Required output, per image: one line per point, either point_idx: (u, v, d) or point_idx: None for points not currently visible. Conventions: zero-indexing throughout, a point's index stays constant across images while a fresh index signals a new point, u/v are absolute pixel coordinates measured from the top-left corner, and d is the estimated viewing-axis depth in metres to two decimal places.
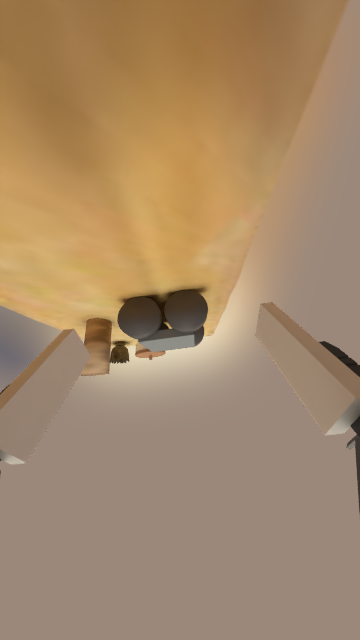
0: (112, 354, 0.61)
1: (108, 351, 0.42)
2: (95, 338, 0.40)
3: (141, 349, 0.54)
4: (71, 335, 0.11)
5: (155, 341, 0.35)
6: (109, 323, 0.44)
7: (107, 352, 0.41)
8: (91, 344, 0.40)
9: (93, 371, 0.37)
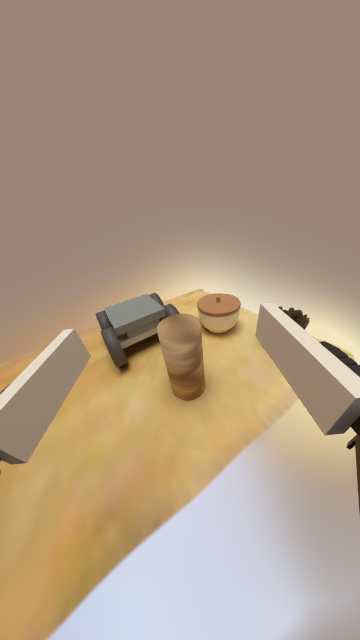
0: None
1: None
2: None
3: (208, 316, 0.38)
4: (71, 335, 0.11)
5: (116, 319, 0.36)
6: None
7: None
8: (166, 366, 0.26)
9: (157, 330, 0.23)
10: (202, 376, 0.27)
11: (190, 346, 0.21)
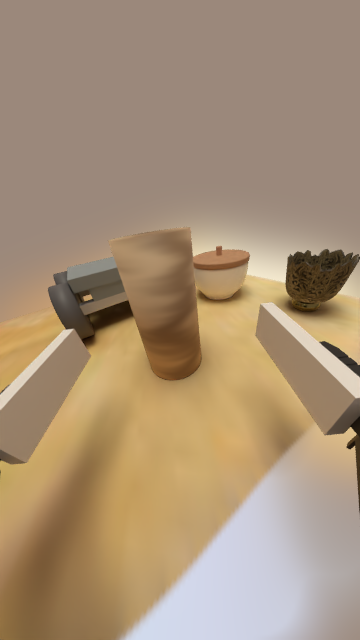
0: (316, 284, 0.20)
1: None
2: None
3: (205, 271, 0.27)
4: (71, 335, 0.11)
5: (76, 273, 0.25)
6: None
7: None
8: (135, 320, 0.15)
9: None
10: (196, 339, 0.16)
11: (170, 261, 0.11)
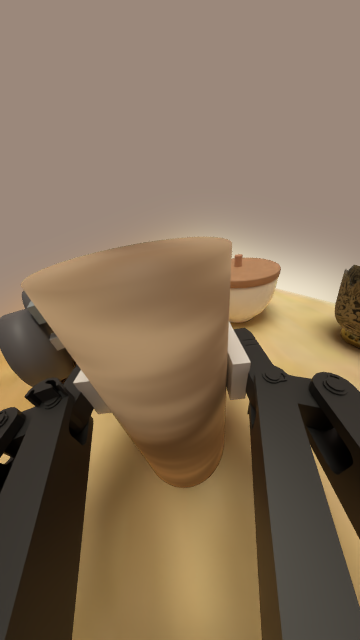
0: None
1: None
2: None
3: None
4: None
5: None
6: None
7: None
8: None
9: None
10: (222, 428, 0.09)
11: (187, 339, 0.04)
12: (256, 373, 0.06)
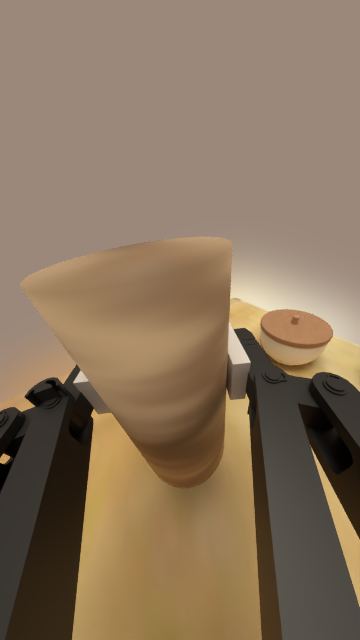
0: None
1: None
2: None
3: (287, 346, 0.26)
4: None
5: None
6: None
7: None
8: None
9: None
10: (223, 428, 0.09)
11: (187, 339, 0.04)
12: (256, 373, 0.06)
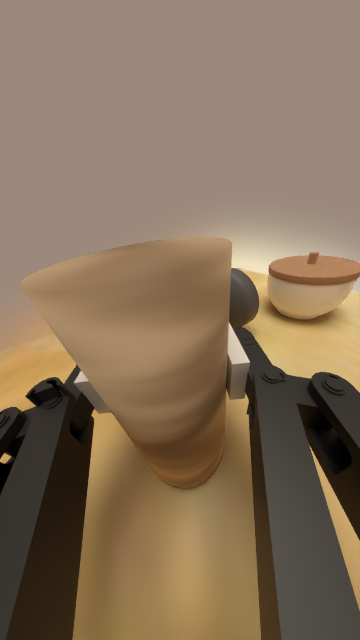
0: None
1: None
2: None
3: (304, 286, 0.21)
4: None
5: None
6: None
7: None
8: None
9: None
10: (223, 428, 0.09)
11: (187, 339, 0.04)
12: (255, 373, 0.06)
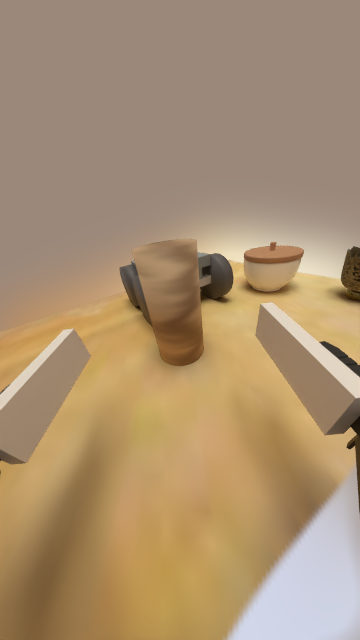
0: None
1: None
2: None
3: (264, 264, 0.30)
4: (71, 335, 0.11)
5: None
6: None
7: None
8: (149, 314, 0.18)
9: None
10: (200, 331, 0.20)
11: (181, 268, 0.14)
12: None
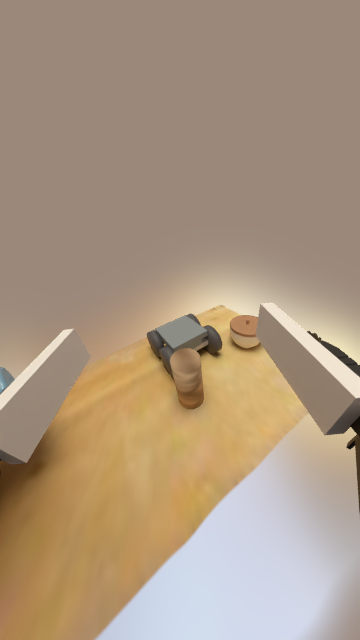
0: None
1: None
2: None
3: (241, 336, 0.48)
4: (71, 335, 0.11)
5: (171, 340, 0.46)
6: None
7: None
8: (176, 385, 0.36)
9: (170, 363, 0.33)
10: (201, 391, 0.37)
11: (194, 375, 0.31)
12: None
